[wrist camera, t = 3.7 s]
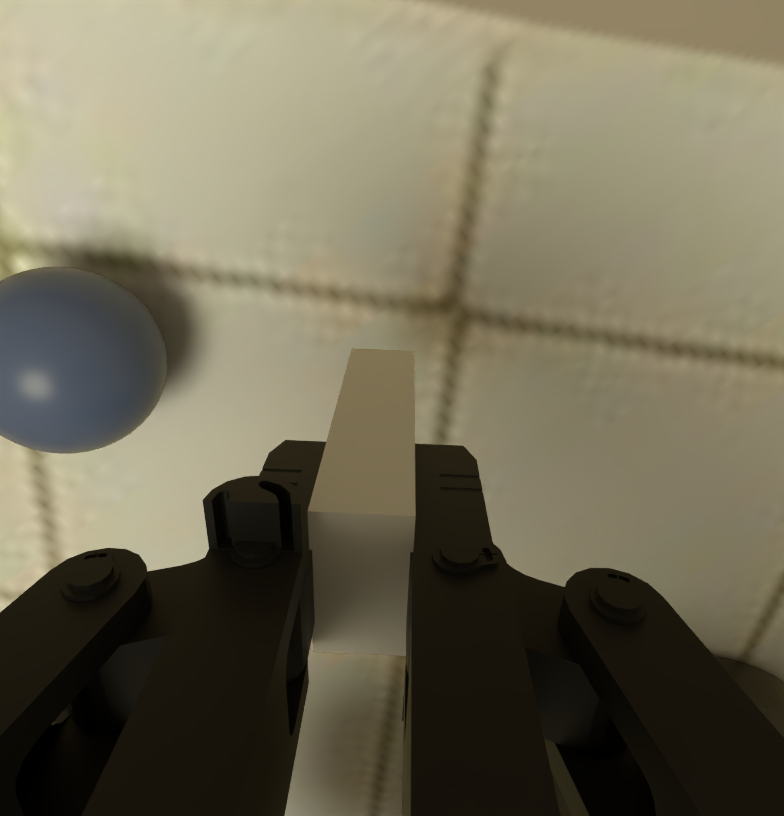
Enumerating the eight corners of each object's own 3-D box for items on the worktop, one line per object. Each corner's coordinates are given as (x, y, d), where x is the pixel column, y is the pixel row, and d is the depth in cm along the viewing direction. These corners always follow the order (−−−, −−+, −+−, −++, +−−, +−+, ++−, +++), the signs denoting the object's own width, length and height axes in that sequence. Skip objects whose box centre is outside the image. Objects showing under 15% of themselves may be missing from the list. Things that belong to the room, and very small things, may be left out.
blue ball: (182, 254, 19) (97, 297, 14) (200, 409, 21) (134, 494, 16) (13, 248, 19) (-133, 287, 14) (50, 403, 21) (-63, 485, 16)
